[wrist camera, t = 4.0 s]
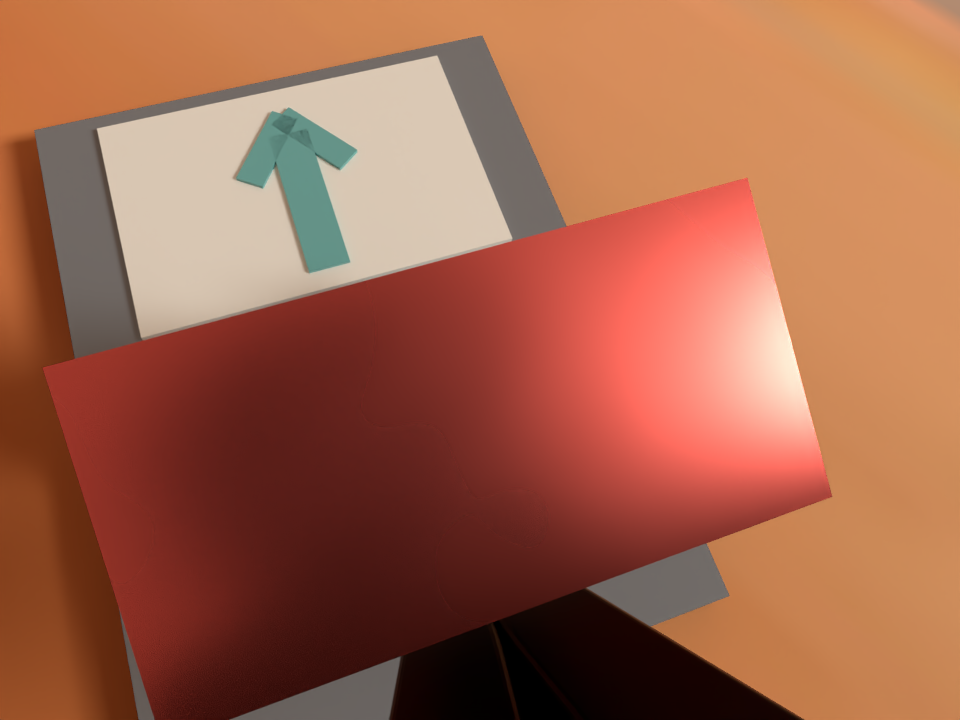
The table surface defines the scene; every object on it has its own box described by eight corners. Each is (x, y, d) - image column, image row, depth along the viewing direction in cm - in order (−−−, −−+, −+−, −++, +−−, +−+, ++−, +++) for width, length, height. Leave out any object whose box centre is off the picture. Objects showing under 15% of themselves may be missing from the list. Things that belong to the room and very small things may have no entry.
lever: (487, 400, 16) (860, 486, 5) (276, 466, 15) (122, 758, 4) (460, 306, 15) (776, 168, 5) (245, 367, 15) (1, 378, 4)
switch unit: (712, 598, 17) (823, 578, 12) (172, 808, 15) (60, 878, 10) (479, 61, 22) (495, -97, 18) (52, 154, 20) (-59, 2, 15)
